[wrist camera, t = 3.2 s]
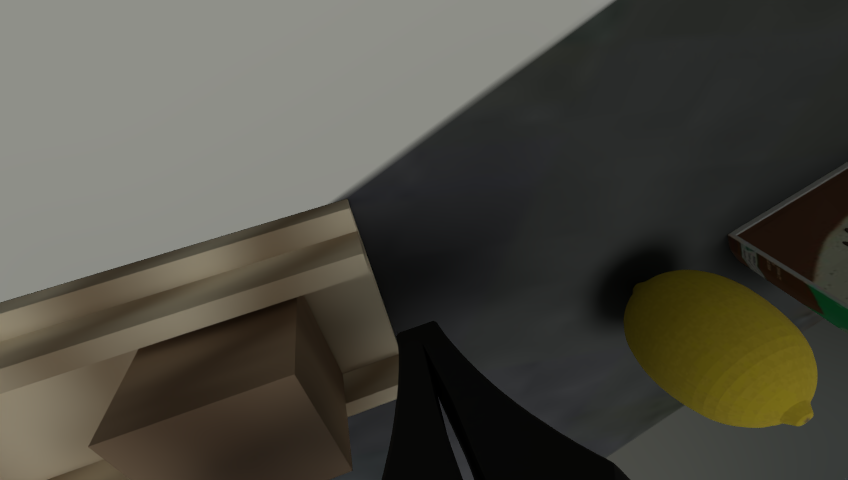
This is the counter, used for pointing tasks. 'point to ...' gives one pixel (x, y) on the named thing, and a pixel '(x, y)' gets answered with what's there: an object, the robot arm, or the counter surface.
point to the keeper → (232, 404)
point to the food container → (804, 246)
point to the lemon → (721, 349)
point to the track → (179, 330)
